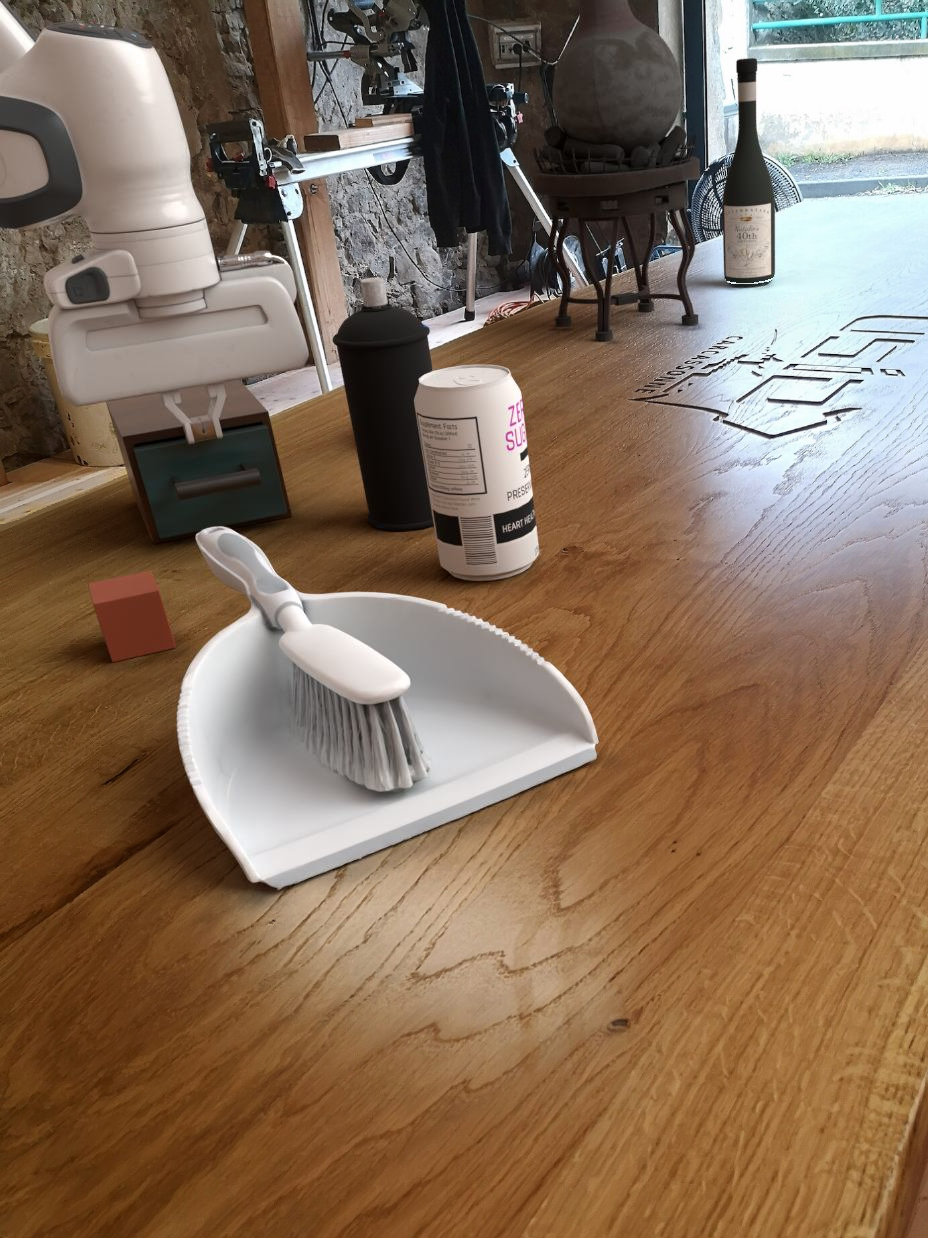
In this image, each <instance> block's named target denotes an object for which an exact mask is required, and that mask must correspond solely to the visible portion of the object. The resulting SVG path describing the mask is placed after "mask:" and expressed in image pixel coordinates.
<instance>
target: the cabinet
mask: <svg viewBox="0 0 928 1238" xmlns="http://www.w3.org/2000/svg"><path fill="white" fill-rule="evenodd" d="M223 384H224V388H225V392H226V398H225V402H224V405H223V408H222V412H221V415H220V418H218V419H219V423H220V427H221V429H224V428H230V427H236V426H241V425H247V424H253V423H254V424H255V426H259V425H266V426H267V428H268V431H269V435H270V440H271V444H272V448H273V453H274V457H275V462H276V466H277V470H278V475H279V479H280V483H281V488H282V492H283V496H284V501H285V505H286V509H287V513H286V514H281V515H276V516H271V517H266V518H261V519H256V520H251V521H246V522H241V523H236V524H231V525H226V526H222V527H226V528H229V529H232V530H233V529H237V528H241V527H242V528H243V527H248V526H251V525H257V524H261V523H266V522H272V521H276V520H281V519H282V520H283V519H286V518H291V517H293V513H292V509H291V505H290V504H291V503H290V500H289V496H288V492H287V487H286V484H285V479H284V474H283V469H282V465H281V461H280V457H279V451H278V447H277V444H276V439H275V433H274V430H273V426H272V422H271V416H270V413H269V411H268V409H267V408H266V407H265V406H264V405H263V404H262V403H261V402H260V401H259V400H258V399H257V397H256V396H255V395H254V394H253V393H252V391H251V390H249V388H248V387H247V386H246V385H245V384H244V383H243V382H242V381H241V379H238V380H232V381H226V382H223ZM179 394H180V398H181V403H179V404H176V403H175V404H176V405H177V406H178V407H179V408H180V409H181V410H182V411H183V413H184V414H185V415H186V416H187V417H188V418H194V417H200V416H205V415H207V413H208V410H209V406H210V402H211V397H209V395H208V394H207V393H206V391H205V387H204V385H203V386H197V387H191V388H185V389H179ZM105 403H106V408H107V410H108V414H109V418H110V420H111V424H112V427H113V432H114V433H115V437H116V441H117V444H118V447H119V451H120V454H121V457H122V461H123V464H124V466H125V470H126V474H127V478H128V481H129V484H130V487H131V490H132V494H133V498H134V500H135V504H136V506H137V509H138V510H139V513H140V515H141V518H142V520H143V522H144V525H145V528H146V529H147V532H148V534H149V537H150V539H151V541H152V543H153V545H157V544H162V543H168V542H172V541H177V540H182V539H187V538H193V537H196V534H197V533H199V532H201V531H202V530H201V531H196V532H191V533H187V534H182V535H177V536H172V537H167V538H162V539H161V538H160V537H159V535H158V531H157V528H156V525H155V521H154V518H153V514H152V511H151V508H150V504H149V501H148V497H147V494H146V490H145V487H144V484H143V480H142V477H141V473H140V470H139V467H138V463H137V460H136V456H135V453H134V449H133V448H134V447H135V444H139V443H145V442H150V441H156V440H162V439H167V438H173V437H179V436H184V435H185V433H184V429H183V425H182V423H181V422H180V421H179V420H178V419H177V418H176V417H175V416H174V415H173V414H172V413H171V412H170V411H169V410H168V409H167V408H166V406H165V405H164V403H163V402H162V399H161V396H160V393H156V394H150V395H144V396H138V397H132V398H126V399H120V400H114V401H109V402H105Z"/></svg>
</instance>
